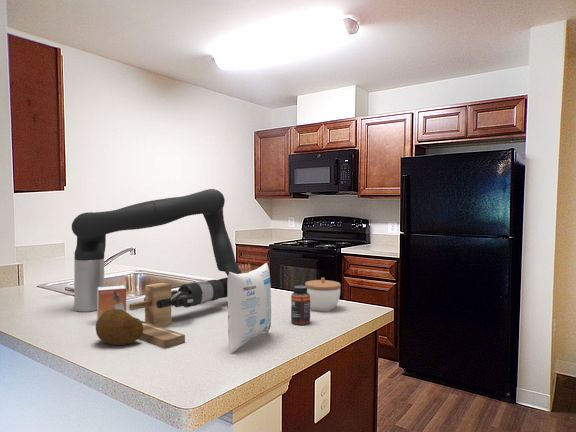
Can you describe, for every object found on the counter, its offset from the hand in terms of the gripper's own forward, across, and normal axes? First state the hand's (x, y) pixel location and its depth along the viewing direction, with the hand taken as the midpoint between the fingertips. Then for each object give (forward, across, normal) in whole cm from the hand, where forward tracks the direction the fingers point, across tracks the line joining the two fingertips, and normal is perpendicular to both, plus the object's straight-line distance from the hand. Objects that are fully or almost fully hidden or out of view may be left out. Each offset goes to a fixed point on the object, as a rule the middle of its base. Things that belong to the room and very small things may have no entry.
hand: (151, 302), depth 118 cm
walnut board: (+6, +6, +7) cm, 11 cm away
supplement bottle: (-31, +32, +7) cm, 45 cm away
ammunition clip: (-50, -12, +7) cm, 52 cm away
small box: (+5, -14, +7) cm, 16 cm away
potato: (+14, +6, +7) cm, 17 cm away
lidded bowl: (-50, +28, +7) cm, 58 cm away
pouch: (-8, +32, +7) cm, 34 cm away
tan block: (+1, 0, +7) cm, 7 cm away
